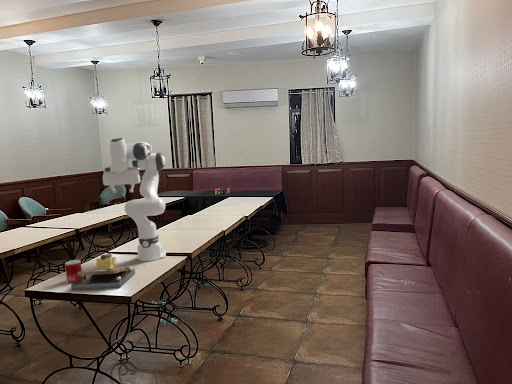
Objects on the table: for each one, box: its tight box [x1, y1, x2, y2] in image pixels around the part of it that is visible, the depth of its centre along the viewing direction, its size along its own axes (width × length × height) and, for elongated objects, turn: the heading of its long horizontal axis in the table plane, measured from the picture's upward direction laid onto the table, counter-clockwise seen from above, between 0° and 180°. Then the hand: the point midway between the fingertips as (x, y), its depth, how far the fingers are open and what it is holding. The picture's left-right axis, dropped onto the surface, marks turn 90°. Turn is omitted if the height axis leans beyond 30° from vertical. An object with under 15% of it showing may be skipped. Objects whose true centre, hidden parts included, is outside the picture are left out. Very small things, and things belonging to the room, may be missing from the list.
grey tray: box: [70, 266, 136, 291], centre depth 218 cm, size 22×26×5 cm
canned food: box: [64, 259, 83, 284], centre depth 223 cm, size 8×8×11 cm
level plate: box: [78, 253, 129, 275], centre depth 218 cm, size 19×20×10 cm
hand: (123, 192), depth 221 cm, fingers open, 8 cm apart
